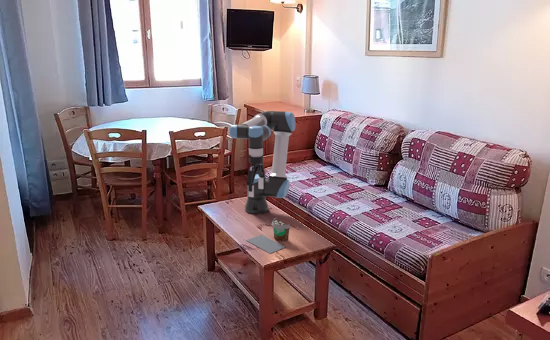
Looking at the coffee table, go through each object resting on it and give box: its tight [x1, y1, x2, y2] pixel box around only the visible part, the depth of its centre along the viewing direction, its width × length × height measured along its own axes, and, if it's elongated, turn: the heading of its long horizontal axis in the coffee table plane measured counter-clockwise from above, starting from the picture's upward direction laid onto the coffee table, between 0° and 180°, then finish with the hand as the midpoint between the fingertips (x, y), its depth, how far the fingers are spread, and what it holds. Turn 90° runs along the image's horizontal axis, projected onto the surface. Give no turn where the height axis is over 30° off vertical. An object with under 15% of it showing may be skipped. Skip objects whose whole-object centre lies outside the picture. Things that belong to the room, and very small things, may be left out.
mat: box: [245, 234, 286, 255], centre depth 236 cm, size 11×20×1 cm, turn 42°
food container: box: [271, 217, 291, 242], centre depth 241 cm, size 12×6×10 cm, turn 40°
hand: (256, 192), depth 238 cm, fingers open, 13 cm apart
